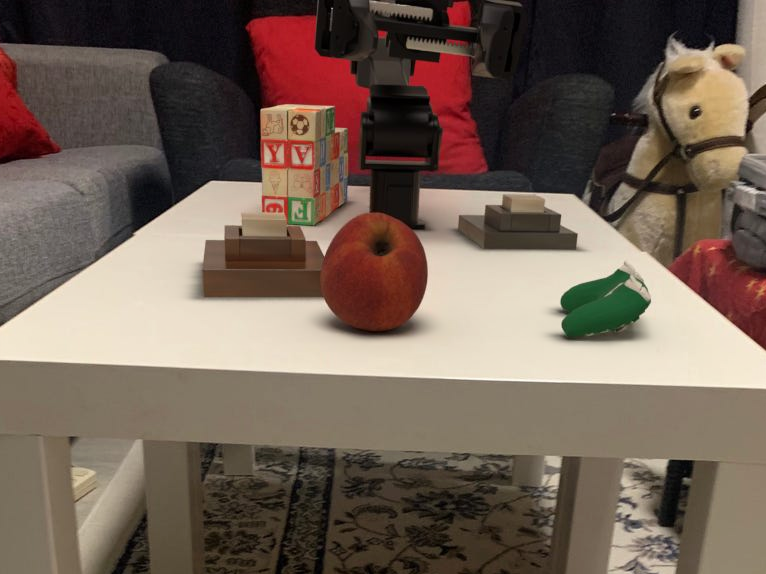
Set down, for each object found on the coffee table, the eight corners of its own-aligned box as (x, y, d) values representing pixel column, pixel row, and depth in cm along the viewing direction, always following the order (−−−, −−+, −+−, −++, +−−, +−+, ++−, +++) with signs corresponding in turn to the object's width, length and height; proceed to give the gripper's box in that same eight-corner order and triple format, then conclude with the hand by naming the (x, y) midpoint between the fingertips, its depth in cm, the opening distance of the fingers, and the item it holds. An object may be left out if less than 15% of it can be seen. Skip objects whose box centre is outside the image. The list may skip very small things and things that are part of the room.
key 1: (241, 233, 80) (241, 212, 79) (284, 233, 80) (284, 212, 79) (242, 240, 76) (242, 218, 76) (286, 241, 77) (286, 219, 76)
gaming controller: (590, 367, 66) (662, 312, 63) (556, 326, 65) (628, 269, 63) (586, 333, 74) (649, 284, 72) (555, 297, 73) (619, 246, 71)
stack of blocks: (302, 199, 127) (302, 100, 121) (348, 201, 126) (350, 103, 121) (261, 222, 107) (259, 107, 102) (314, 225, 107) (315, 109, 101)
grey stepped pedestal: (457, 230, 107) (459, 198, 106) (541, 231, 109) (544, 199, 107) (483, 249, 97) (486, 214, 95) (576, 250, 98) (580, 215, 97)
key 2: (501, 210, 101) (502, 194, 100) (533, 211, 102) (535, 194, 101) (510, 215, 98) (511, 198, 97) (543, 216, 98) (545, 199, 98)
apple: (314, 340, 63) (314, 218, 60) (326, 312, 70) (327, 202, 67) (424, 345, 63) (430, 223, 59) (425, 317, 70) (431, 206, 66)
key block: (206, 264, 85) (204, 219, 83) (316, 265, 86) (317, 220, 85) (203, 297, 73) (201, 245, 71) (330, 297, 75) (331, 246, 73)
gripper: (323, -97, 85) (327, -78, 72) (523, -69, 87) (560, -45, 75) (313, 36, 91) (315, 75, 79) (499, 59, 94) (530, 100, 81)
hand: (430, 49), depth 78 cm, fingers open, 9 cm apart
